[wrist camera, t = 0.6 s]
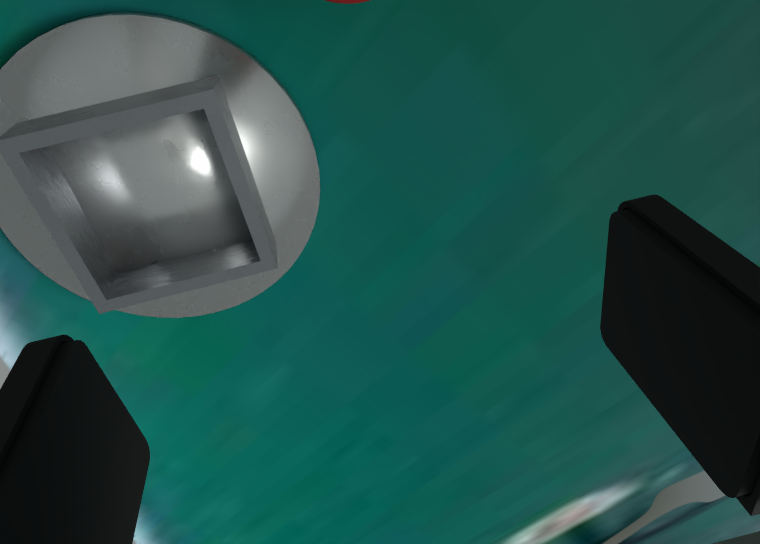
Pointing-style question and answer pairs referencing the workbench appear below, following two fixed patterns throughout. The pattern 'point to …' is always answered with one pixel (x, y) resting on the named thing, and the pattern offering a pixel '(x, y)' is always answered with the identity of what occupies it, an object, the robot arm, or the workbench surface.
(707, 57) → the workbench surface
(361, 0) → the beverage can
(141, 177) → the rosette plate
